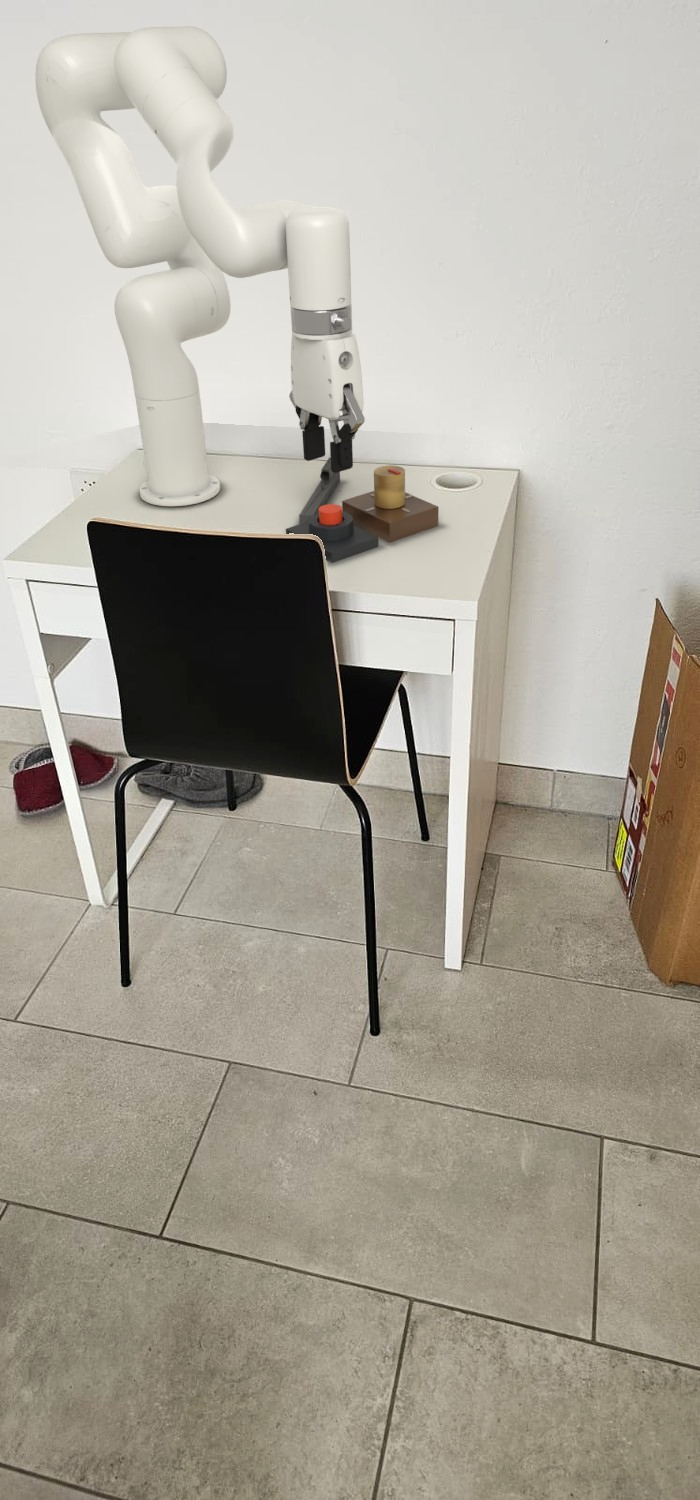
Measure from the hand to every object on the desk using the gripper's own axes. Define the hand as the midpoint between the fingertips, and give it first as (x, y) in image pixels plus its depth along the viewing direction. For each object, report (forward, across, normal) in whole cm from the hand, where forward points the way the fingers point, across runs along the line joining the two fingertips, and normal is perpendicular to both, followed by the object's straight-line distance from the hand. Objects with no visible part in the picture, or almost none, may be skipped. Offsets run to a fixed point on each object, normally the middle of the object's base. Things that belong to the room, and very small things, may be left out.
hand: (328, 462), depth 136 cm
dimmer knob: (+8, 0, -11) cm, 13 cm away
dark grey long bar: (+12, +12, -8) cm, 19 cm away
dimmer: (+11, 0, -10) cm, 16 cm away
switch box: (+11, 0, 0) cm, 11 cm away
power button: (+8, 0, 0) cm, 8 cm away
